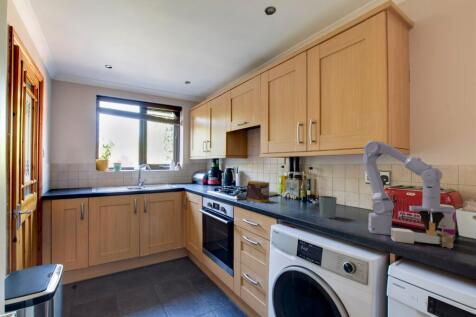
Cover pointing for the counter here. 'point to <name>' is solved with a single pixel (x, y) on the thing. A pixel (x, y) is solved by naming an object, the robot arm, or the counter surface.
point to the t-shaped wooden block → (428, 235)
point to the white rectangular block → (402, 235)
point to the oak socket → (446, 239)
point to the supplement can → (447, 221)
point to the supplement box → (258, 191)
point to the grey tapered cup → (327, 206)
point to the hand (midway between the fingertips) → (430, 229)
